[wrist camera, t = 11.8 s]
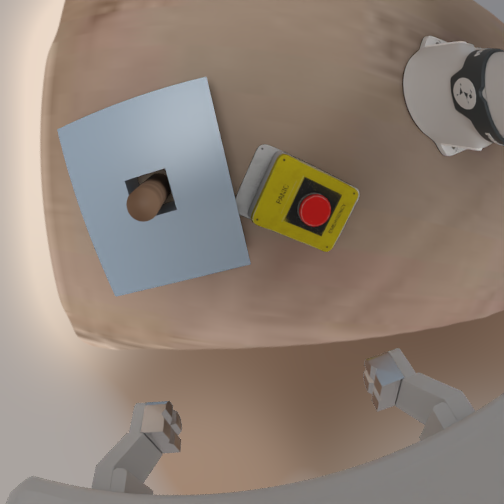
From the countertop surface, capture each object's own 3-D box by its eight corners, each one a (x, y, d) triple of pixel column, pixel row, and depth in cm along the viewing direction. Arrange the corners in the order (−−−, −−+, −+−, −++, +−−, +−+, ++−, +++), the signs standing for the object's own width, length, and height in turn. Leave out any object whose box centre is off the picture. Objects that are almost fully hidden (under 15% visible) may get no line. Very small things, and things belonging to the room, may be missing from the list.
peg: (167, 170, 34) (153, 183, 26) (174, 195, 35) (163, 216, 27) (143, 177, 34) (122, 193, 26) (150, 202, 35) (132, 225, 27)
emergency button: (341, 263, 37) (231, 220, 33) (329, 249, 41) (229, 209, 37) (375, 198, 34) (265, 142, 31) (360, 190, 38) (259, 140, 34)
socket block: (207, 83, 31) (206, 76, 26) (246, 247, 39) (250, 264, 35) (75, 128, 30) (57, 129, 26) (125, 277, 39) (115, 296, 34)
